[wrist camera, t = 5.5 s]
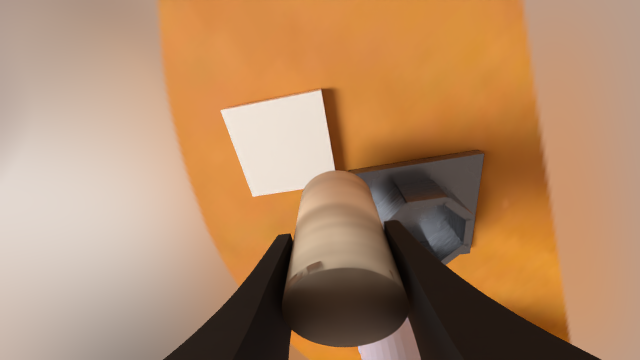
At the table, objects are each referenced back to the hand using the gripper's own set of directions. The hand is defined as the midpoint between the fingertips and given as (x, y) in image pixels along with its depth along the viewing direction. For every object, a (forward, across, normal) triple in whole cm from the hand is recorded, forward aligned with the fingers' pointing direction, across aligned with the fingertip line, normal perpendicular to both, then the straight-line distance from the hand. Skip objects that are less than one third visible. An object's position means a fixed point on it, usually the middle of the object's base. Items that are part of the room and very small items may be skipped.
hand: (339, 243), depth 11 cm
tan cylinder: (+4, 0, 0) cm, 4 cm away
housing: (+8, -6, +5) cm, 12 cm away
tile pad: (+8, +3, -3) cm, 10 cm away
